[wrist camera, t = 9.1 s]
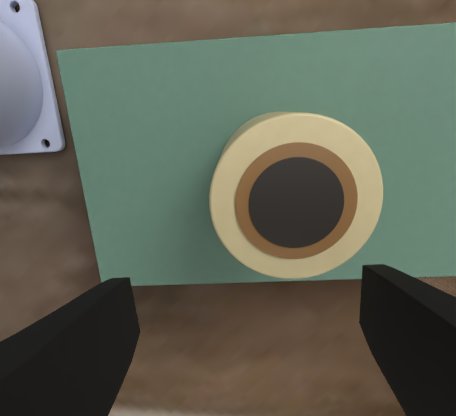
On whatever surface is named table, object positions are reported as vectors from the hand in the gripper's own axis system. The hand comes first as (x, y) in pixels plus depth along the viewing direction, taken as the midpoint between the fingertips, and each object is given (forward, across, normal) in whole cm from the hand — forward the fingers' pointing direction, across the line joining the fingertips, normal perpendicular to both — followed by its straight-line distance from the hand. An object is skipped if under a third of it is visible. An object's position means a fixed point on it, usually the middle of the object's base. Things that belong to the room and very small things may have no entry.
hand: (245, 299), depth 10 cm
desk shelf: (+10, -2, -3) cm, 11 cm away
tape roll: (+5, -2, -3) cm, 6 cm away
